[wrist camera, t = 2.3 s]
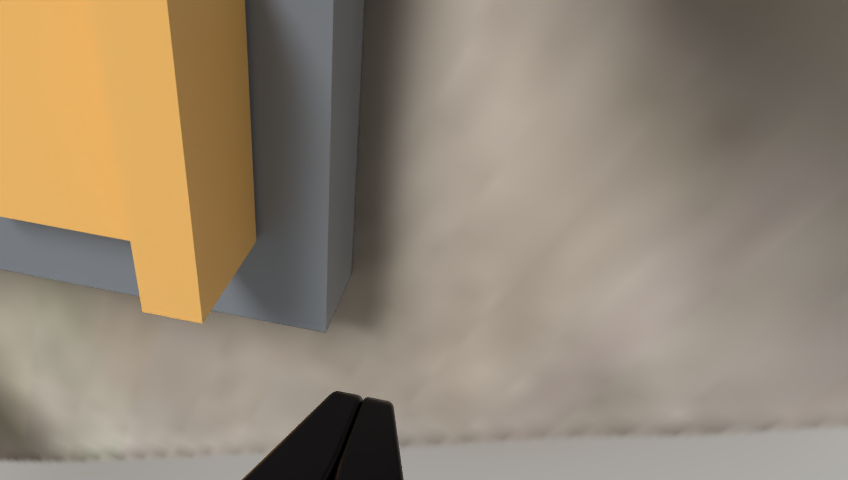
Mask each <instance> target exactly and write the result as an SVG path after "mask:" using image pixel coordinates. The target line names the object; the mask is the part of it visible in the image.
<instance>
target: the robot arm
mask: <svg viewBox="0 0 848 480" xmlns="http://www.w3.org/2000/svg"><path fill="white" fill-rule="evenodd" d="M242 480H403V472H402V465H401V458H400V451H399V443H398V436H397V429H396V421H395V414H394V407H393V404H392V403H391V402H389V401H385V400H380V399H375V398H370V397H367V398H365V399H364V400H363V399H362V397H361V396H359V395H355V394H350V393H345V392H340V391H336V392H333V393H332V394H330V395H329V396H328V397H327V398H326V399H325V400H324V401H323V402H322V403H321V404H320V405H319V406H318V407H317V408H316V409H315V410H314V411H313V412H312V413H311V414H310V415H308V416H307V417H306V418H305V419H304V420H303V421H302V422H301V423H300V424H299V425H298V426H297V427H296V428H295V429H294V430H293V431H292V432H291V433H290V434H289V435H288V436H287V437H286V438H285V439H284V440H283V441H282V442H281V443H280V444H278V445H277V446H276V447H275V448H274V449H273V450H272V451H271V452H270V453H269V454H268V455H267V456H266V457H265V458H264V459H263V460H262V461H261V462H260V463H259V464H258V465H257V466H256V467H255V468H254V469H253V470H252V471H251V472H250V473H249V474H247V475H246V476H245V477H244V478H243V479H242Z"/></svg>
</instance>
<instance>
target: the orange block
mask: <svg viewBox="0 0 848 480" xmlns="http://www.w3.org/2000/svg"><path fill="white" fill-rule="evenodd" d="M0 217H5V218H10V219H16V220H21V221H26V222H32V223H37V224H42V225H48V226H53V227H58V228H64V229H69V230H74V231H80V232H85V233H90V234H95V235H101V236H106V237H111V238H117V239H122V240H127V241H130V243H131V249H132V254H133V260H134V266H135V272H136V278H137V283H138V289H139V295H140V301H141V307H142V312H146V313H151V314H156V315H161V316H166V317H171V318H176V319H181V320H186V321H191V322H197V323H202V324H203V322H204V321H205V319H206V317H207V316H208V314H209V313H210V311H211V310H212V308H213V307H214V305H215V304H216V302H217V301H218V299H219V298H220V296H221V295H222V293H223V291H224V290H225V288H226V287H227V285H228V284H229V282H230V281H231V279H232V278H233V276H234V275H235V273H236V272H237V270H238V269H239V267H240V266H241V264H242V262H243V261H244V259H245V258H246V256H247V255H248V253H249V252H250V250H251V249H252V247H253V246H254V244H255V243H256V222H255V201H254V180H253V159H252V138H251V118H250V97H249V76H248V55H247V34H246V13H245V0H0Z"/></svg>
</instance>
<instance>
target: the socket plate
mask: <svg viewBox="0 0 848 480" xmlns="http://www.w3.org/2000/svg"><path fill="white" fill-rule="evenodd" d="M364 2H365V0H245V13H246V34H247V55H248V76H249V97H250V118H251V138H252V159H253V180H254V201H255V222H256V243H255V244H254V246H253V247H252V249H251V250H250V252H249V253H248V255H247V256H246V258H245V259H244V261H243V262H242V264H241V266H240V267H239V269H238V270H237V272H236V273H235V275H234V276H233V278H232V279H231V281H230V282H229V284H228V285H227V287H226V288H225V290H224V291H223V293H222V295H221V296H220V298H219V299H218V301H217V302H216V304H215V305H214V307H213V308H212V310H211V311H217V312H222V313H227V314H232V315H237V316H242V317H247V318H252V319H258V320H263V321H268V322H273V323H278V324H283V325H288V326H293V327H299V328H304V329H309V330H314V331H319V332H324V333H326V331H327V329H328V327H329V324H330V322H331V320H332V317H333V315H334V313H335V310H336V308H337V306H338V304H339V301H340V299H341V297H342V294H343V292H344V290H345V287H346V285H347V283H348V280H349V278H350V276H351V273H352V254H353V233H354V212H355V191H356V170H357V149H358V128H359V107H360V86H361V65H362V44H363V23H364ZM0 269H2V270H7V271H12V272H17V273H22V274H27V275H32V276H37V277H43V278H48V279H53V280H58V281H63V282H68V283H73V284H78V285H84V286H89V287H94V288H99V289H104V290H109V291H114V292H119V293H124V294H130V295H135V296H140V295H139V289H138V283H137V278H136V272H135V266H134V260H133V254H132V249H131V243H130V241H127V240H122V239H117V238H111V237H106V236H101V235H95V234H90V233H85V232H80V231H74V230H69V229H64V228H58V227H53V226H48V225H42V224H37V223H32V222H26V221H21V220H16V219H10V218H5V217H0Z"/></svg>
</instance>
